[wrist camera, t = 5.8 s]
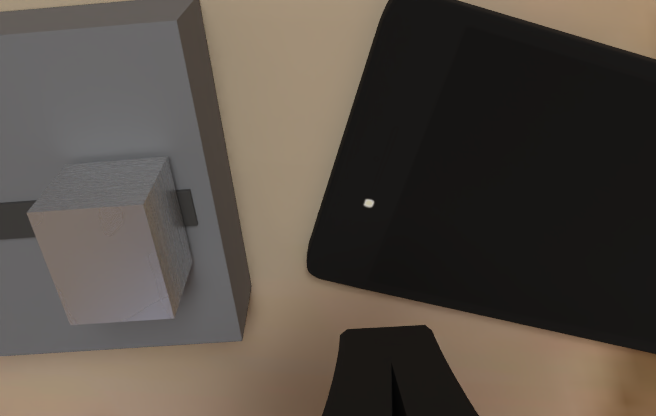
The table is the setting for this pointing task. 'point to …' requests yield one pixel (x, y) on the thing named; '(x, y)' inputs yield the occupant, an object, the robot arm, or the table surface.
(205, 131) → the switch panel
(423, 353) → the robot arm
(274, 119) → the table surface
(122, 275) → the toggle knob
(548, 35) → the cell phone
